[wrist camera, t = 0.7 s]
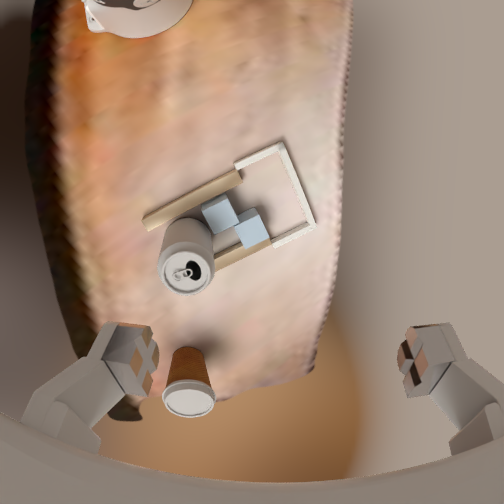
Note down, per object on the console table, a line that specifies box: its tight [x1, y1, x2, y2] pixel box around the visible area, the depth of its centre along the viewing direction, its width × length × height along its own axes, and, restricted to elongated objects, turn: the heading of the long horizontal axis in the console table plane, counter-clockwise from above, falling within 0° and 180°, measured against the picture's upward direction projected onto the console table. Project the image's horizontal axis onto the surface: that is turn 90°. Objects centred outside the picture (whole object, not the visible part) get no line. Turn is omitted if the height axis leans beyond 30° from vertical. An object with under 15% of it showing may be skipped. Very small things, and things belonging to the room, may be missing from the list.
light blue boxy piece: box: [201, 192, 240, 235], centre depth 44 cm, size 4×4×4 cm
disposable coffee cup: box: [162, 347, 216, 417], centre depth 52 cm, size 10×10×12 cm
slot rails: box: [141, 169, 272, 272], centre depth 46 cm, size 13×16×2 cm
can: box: [157, 218, 215, 296], centre depth 42 cm, size 8×8×12 cm
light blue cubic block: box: [234, 207, 270, 249], centre depth 46 cm, size 4×4×4 cm
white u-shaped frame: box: [233, 142, 317, 249], centre depth 46 cm, size 15×8×2 cm, turn 24°
